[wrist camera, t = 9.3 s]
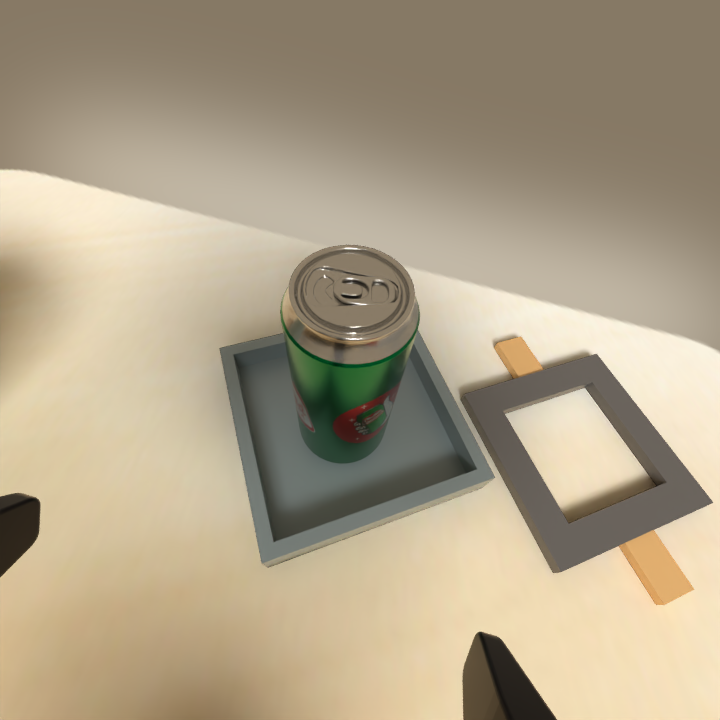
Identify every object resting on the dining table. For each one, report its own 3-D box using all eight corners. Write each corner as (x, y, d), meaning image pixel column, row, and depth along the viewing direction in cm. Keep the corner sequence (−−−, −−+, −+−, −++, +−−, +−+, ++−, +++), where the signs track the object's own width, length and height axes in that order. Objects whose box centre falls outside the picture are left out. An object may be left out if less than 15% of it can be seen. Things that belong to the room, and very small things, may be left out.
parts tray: (268, 567, 20) (261, 563, 18) (227, 366, 26) (219, 348, 24) (481, 488, 22) (495, 477, 21) (399, 324, 28) (404, 304, 27)
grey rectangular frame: (588, 639, 19) (598, 640, 18) (440, 362, 27) (443, 356, 26) (743, 559, 21) (756, 558, 21) (565, 327, 29) (571, 321, 29)
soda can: (305, 385, 25) (288, 231, 14) (384, 390, 25) (423, 242, 15) (294, 463, 22) (264, 342, 12) (383, 469, 22) (430, 355, 12)
